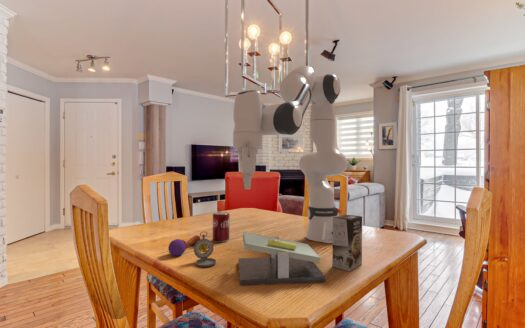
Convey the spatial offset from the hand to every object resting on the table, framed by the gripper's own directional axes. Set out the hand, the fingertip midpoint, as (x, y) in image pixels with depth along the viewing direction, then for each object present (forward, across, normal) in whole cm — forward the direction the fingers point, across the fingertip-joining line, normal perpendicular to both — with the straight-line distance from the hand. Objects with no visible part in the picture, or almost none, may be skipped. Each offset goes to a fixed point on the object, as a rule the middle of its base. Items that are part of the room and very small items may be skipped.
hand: (246, 188), depth 87 cm
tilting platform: (+19, 0, -10) cm, 21 cm away
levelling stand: (+26, 0, -10) cm, 28 cm away
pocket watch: (+26, +10, +13) cm, 31 cm away
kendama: (+26, +26, +22) cm, 43 cm away
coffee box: (+26, +3, -34) cm, 42 cm away
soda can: (+26, +38, +9) cm, 47 cm away
